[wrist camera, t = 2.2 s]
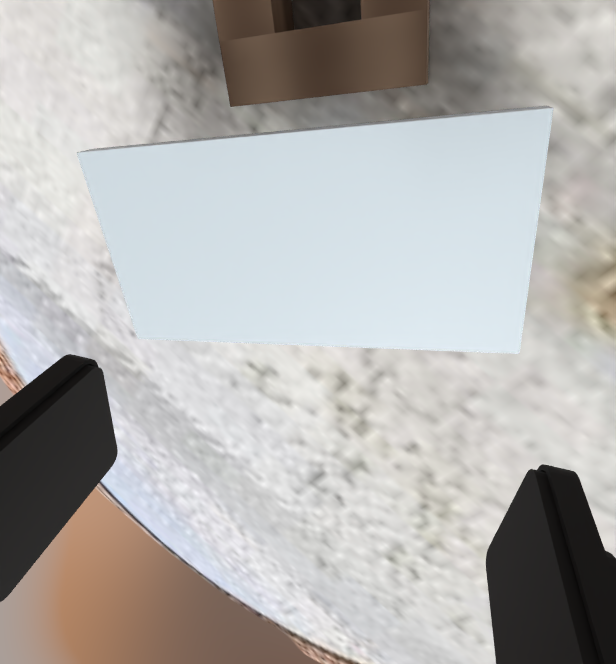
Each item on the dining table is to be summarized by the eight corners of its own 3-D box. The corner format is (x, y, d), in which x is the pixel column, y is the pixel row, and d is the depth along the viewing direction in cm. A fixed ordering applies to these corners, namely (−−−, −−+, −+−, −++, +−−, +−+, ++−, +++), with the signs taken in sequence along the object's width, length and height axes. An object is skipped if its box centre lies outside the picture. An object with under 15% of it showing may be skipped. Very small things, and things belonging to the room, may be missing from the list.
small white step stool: (508, 93, 26) (553, 107, 16) (493, 259, 31) (519, 353, 20) (196, 125, 31) (76, 152, 21) (224, 262, 36) (138, 338, 26)
